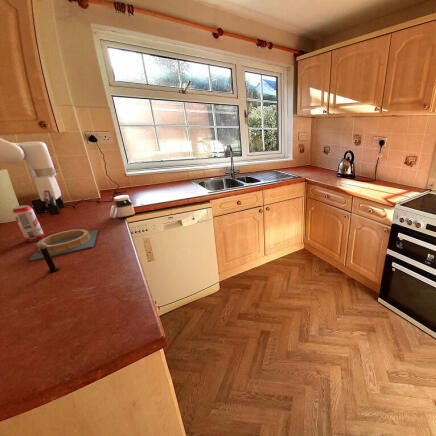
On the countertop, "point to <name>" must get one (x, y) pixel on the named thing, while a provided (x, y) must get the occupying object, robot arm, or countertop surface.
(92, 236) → the mat
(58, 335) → the countertop surface
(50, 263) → the post stand
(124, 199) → the spread jar
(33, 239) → the beer can
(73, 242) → the hoop
